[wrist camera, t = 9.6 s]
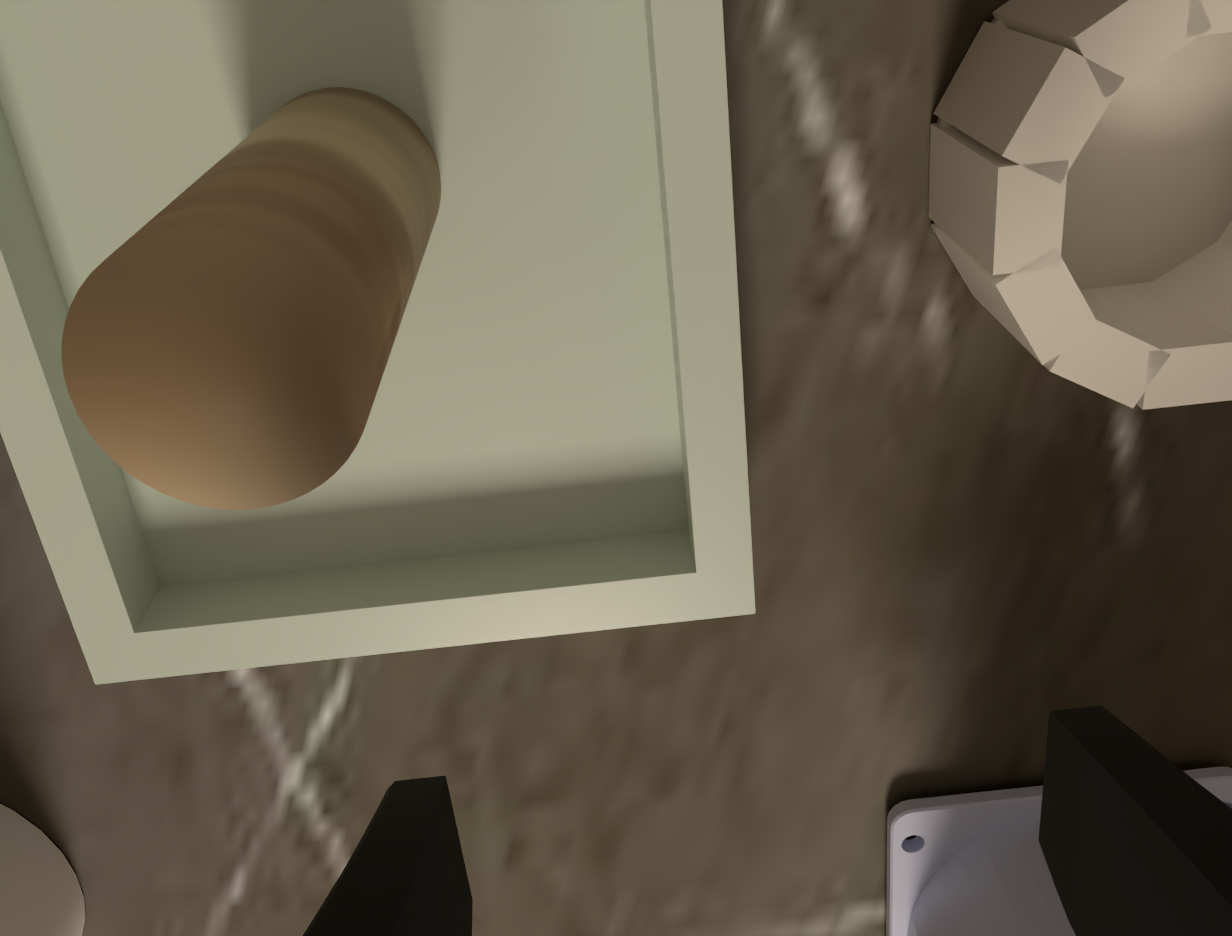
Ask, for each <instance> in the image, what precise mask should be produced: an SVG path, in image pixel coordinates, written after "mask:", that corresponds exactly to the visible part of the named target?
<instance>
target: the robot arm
mask: <svg viewBox="0 0 1232 936" xmlns="http://www.w3.org/2000/svg"><path fill="white" fill-rule="evenodd" d="M912 835H916V837H915V838H913V839H910V840H904V839H905V838H907V837H909V836H912ZM303 936H472V896H471V891H470V887H469V882H468V877H467V873H466V868H465V863H464V859H463V854H462V850H461V845H460V840H459V836H458V831H457V826H456V822H455V817H454V812H453V808H452V803H451V799H450V794H449V789H448V785H447V780H446V776H439V777H429V778H420V779H411V780H401V781H395V782H394V783H393V784H392V785H391V786H390V787H389V788H388V789H387V791H386V793H385V795H384V797H383V799H382V801H381V803H380V805H379V807H378V809H377V811H376V812H375V814H374V816H373V818H372V820H371V822H370V824H369V826H368V827H367V829H366V831H365V833H364V835H363V837H362V838H361V840H360V842H359V844H358V846H357V847H356V849H355V851H354V853H353V854H352V856H351V858H350V860H349V861H348V863H347V865H346V867H345V868H344V870H343V872H342V873H341V875H340V877H339V878H338V880H337V882H336V883H335V885H334V886H333V888H332V890H331V891H330V893H329V895H328V896H327V898H326V899H325V901H324V903H323V904H322V906H321V908H320V909H319V911H318V912H317V914H316V916H315V917H314V919H313V920H312V922H311V924H310V925H309V927H308V928H307V930H306V931H305V933H304V934H303ZM886 936H1232V768H1230V767H1212V768H1202V769H1193V770H1181V769H1180V768H1179V767H1177V766H1176V765H1175V764H1174V763H1172V762H1171V761H1170V760H1169V759H1167V758H1166V757H1165V756H1164V755H1162V754H1161V753H1160V752H1159V751H1157V750H1156V749H1155V748H1154V747H1152V746H1151V745H1150V744H1149V743H1147V742H1146V741H1145V740H1144V739H1142V738H1141V737H1140V736H1139V735H1137V734H1136V733H1135V732H1134V731H1133V730H1131V729H1130V728H1129V727H1128V726H1126V725H1125V724H1124V723H1123V722H1121V721H1120V720H1119V719H1117V718H1116V717H1115V716H1114V715H1112V714H1111V713H1110V712H1109V711H1107V710H1106V709H1105V708H1103V707H1102V706H1095V707H1086V708H1076V709H1067V710H1057V711H1050V714H1049V725H1048V736H1047V748H1046V759H1045V771H1044V782H1043V785H1042V786H1033V787H1023V788H1014V789H1005V790H995V791H986V792H976V793H967V794H958V795H948V796H939V797H929V798H920V799H910V800H906V801H902V802H900V803H898V804H897V805H895V806H894V807H893V808H892V809H891V810H890V811H889V814H888V818H887V903H886Z"/></svg>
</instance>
